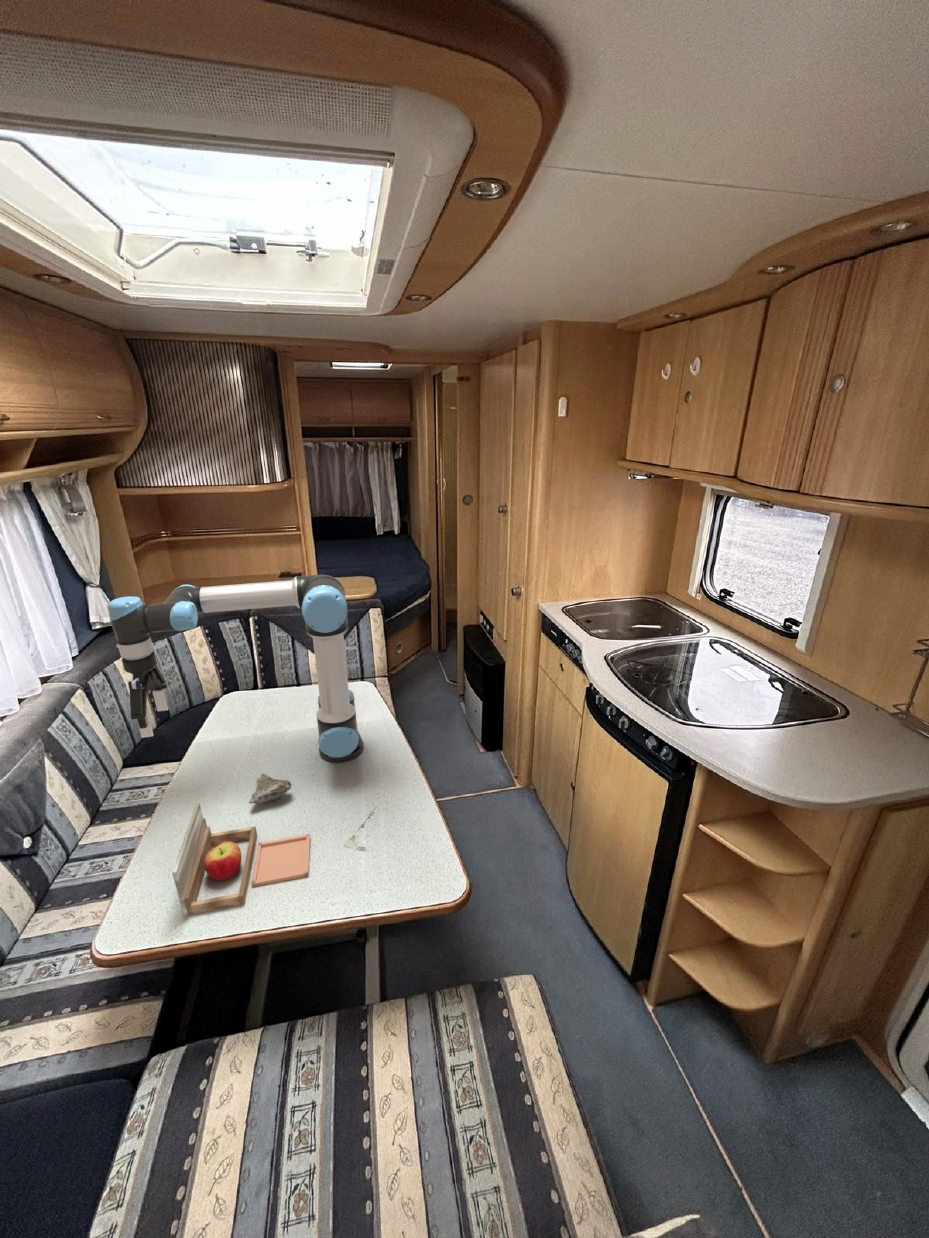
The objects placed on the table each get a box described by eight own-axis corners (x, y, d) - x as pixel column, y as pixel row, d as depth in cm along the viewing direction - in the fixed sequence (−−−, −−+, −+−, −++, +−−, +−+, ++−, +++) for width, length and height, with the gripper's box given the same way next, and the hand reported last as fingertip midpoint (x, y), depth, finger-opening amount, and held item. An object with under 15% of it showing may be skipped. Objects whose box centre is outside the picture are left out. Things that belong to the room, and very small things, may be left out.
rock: (246, 801, 144) (254, 775, 153) (255, 815, 147) (263, 788, 156) (283, 791, 144) (290, 765, 152) (292, 804, 147) (298, 778, 155)
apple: (207, 892, 121) (199, 861, 117) (208, 866, 128) (201, 835, 125) (244, 881, 124) (237, 850, 120) (243, 855, 131) (237, 825, 128)
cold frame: (258, 833, 138) (250, 791, 133) (245, 906, 117) (235, 861, 112) (207, 841, 136) (196, 800, 130) (184, 918, 115) (171, 872, 109)
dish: (310, 839, 136) (309, 833, 136) (308, 878, 125) (307, 872, 124) (259, 848, 134) (258, 843, 133) (252, 889, 122) (251, 883, 121)
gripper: (138, 637, 145) (155, 702, 153) (102, 677, 122) (124, 750, 130) (167, 635, 146) (182, 698, 154) (136, 674, 124) (156, 746, 132)
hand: (155, 722), depth 142 cm, fingers open, 13 cm apart
